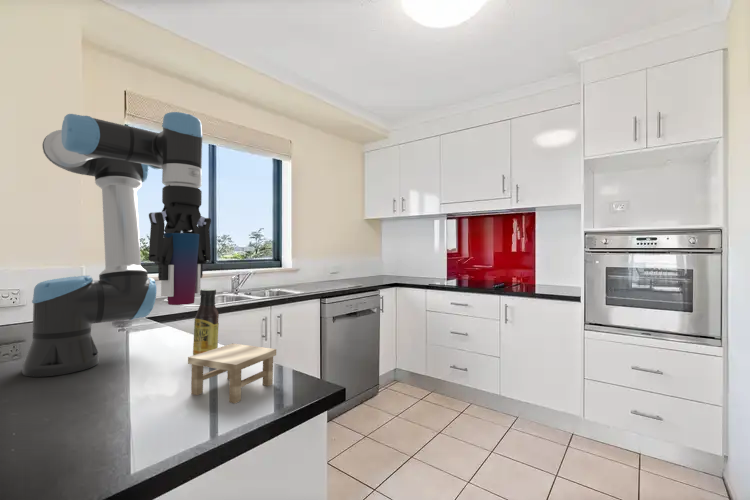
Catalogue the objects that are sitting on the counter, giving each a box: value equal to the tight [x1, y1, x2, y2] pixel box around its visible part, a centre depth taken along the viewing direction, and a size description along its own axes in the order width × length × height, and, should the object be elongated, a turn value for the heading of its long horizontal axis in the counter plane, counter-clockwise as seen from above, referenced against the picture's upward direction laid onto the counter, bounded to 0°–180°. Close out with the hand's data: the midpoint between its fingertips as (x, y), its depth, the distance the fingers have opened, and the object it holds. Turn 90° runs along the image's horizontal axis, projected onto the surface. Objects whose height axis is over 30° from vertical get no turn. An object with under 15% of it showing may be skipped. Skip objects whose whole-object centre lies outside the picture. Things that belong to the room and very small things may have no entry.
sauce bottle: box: [192, 288, 220, 356], centre depth 104 cm, size 6×6×20 cm
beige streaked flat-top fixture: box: [187, 343, 277, 404], centre depth 83 cm, size 13×13×8 cm
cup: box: [164, 232, 199, 306], centre depth 80 cm, size 7×7×15 cm
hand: (181, 294), depth 80 cm, fingers closed on cup, 6 cm apart
